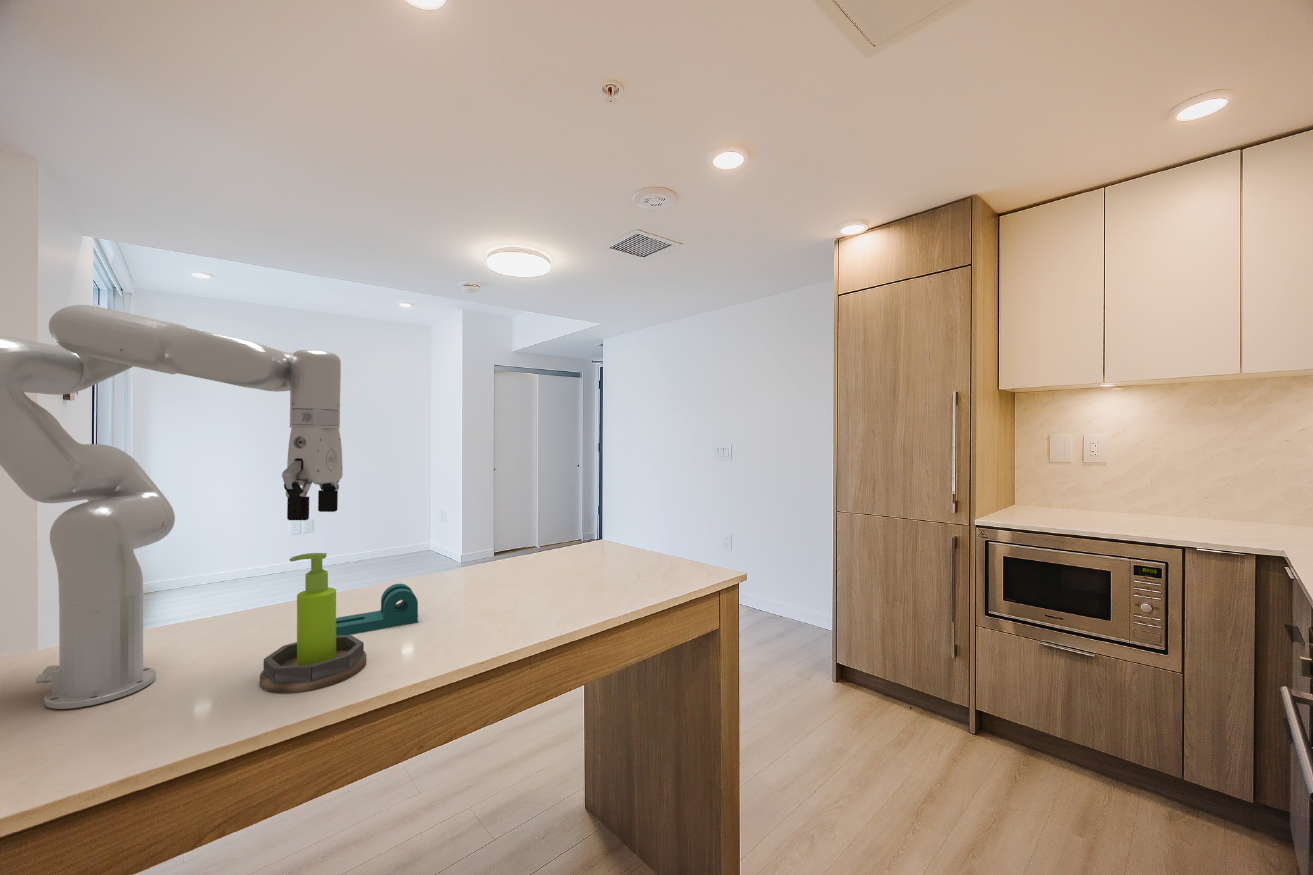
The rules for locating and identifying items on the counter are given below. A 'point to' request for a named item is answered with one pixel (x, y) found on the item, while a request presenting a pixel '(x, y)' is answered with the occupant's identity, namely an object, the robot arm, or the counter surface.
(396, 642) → the counter surface
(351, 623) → the bracket
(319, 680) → the collar stand
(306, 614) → the soap dispenser
